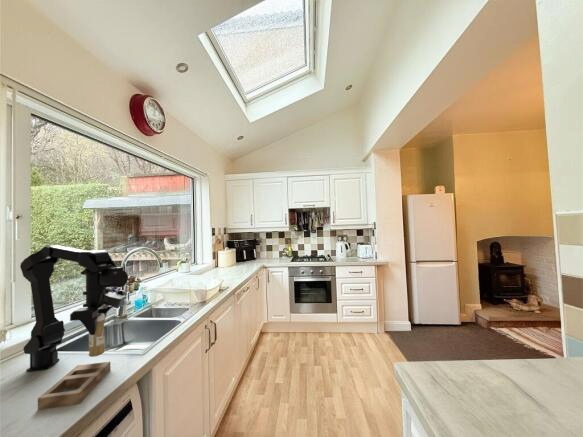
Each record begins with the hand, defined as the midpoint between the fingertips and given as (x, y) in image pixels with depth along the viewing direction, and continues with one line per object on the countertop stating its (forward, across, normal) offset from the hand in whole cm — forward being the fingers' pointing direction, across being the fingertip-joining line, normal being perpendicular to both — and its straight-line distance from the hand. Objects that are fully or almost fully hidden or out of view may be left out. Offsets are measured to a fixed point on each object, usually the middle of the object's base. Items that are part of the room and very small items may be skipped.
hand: (96, 331), depth 89 cm
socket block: (+13, -10, 0) cm, 16 cm away
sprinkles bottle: (+8, 0, 0) cm, 8 cm away
